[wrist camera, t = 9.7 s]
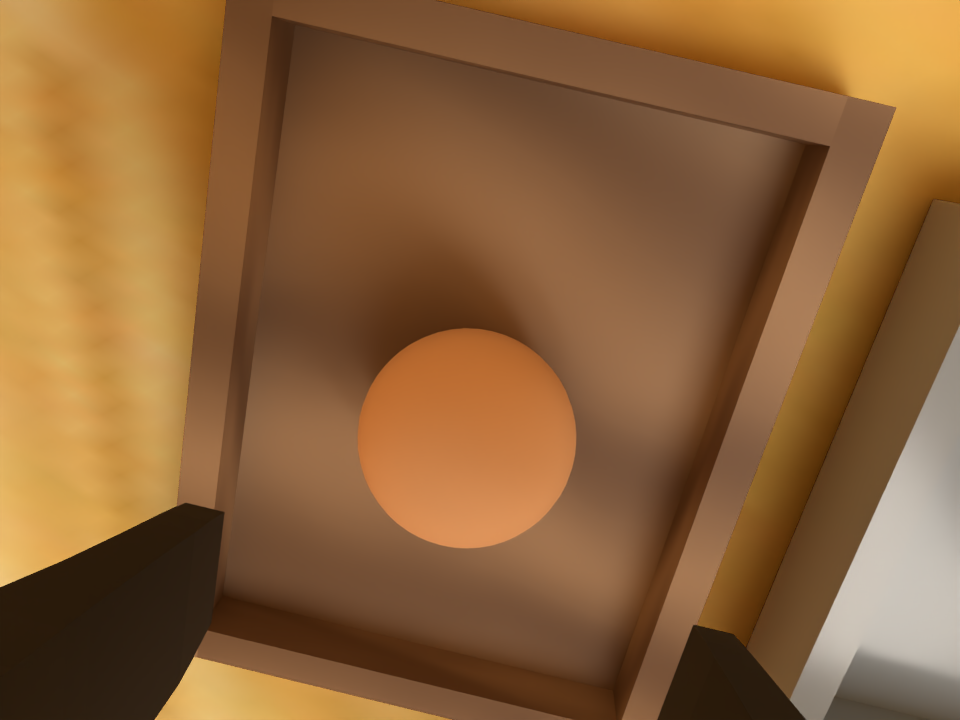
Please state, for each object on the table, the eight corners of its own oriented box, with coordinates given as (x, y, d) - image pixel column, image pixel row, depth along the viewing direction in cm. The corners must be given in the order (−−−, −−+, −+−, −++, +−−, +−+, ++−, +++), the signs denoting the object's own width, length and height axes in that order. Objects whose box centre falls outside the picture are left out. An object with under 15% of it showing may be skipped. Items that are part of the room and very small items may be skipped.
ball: (544, 501, 20) (548, 618, 15) (366, 460, 20) (315, 565, 15) (592, 331, 18) (613, 401, 14) (400, 285, 18) (354, 341, 14)
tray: (633, 709, 23) (642, 765, 21) (196, 602, 23) (162, 648, 21) (854, 109, 17) (896, 107, 15) (267, -28, 17) (230, -48, 15)
